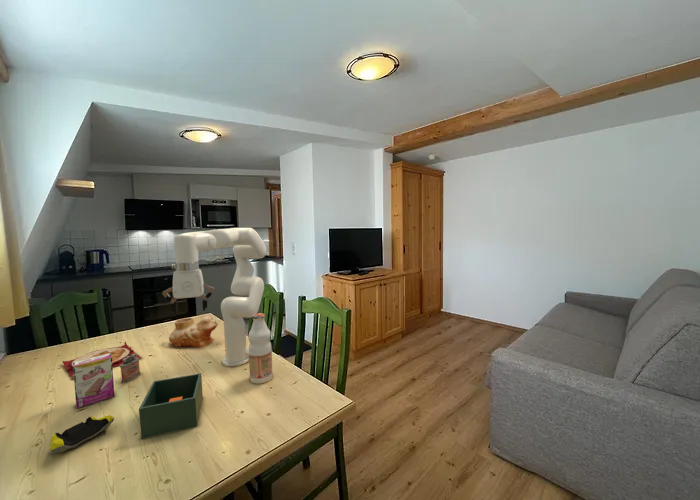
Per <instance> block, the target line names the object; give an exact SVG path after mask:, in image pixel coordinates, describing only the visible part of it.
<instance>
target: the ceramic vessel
mask: <svg viewBox="0 0 700 500" xmlns="http://www.w3.org/2000/svg"><path fill="white" fill-rule="evenodd" d="M218 325H219V323H218V322H217V320H215V319H213V317H212V316H211V315H207V316H204V317H203V318H201V319H200V320H199V321H198V322H196V323H195V322H194V318H193V317H184V318H180V319H179V318H178V319H176V320H174V327H175V328H174V329H173V330H172V331H171V332H170V334H169V336H168V341H169V342H170V343H171V344H172V346H174V348H180V349H181V348H199V349H201V348H205V347H206V346H208V345H210V344H211V343H212V341H213V337H212V336H211V335H212V332H214V331H215V330H216V328H217V327H218Z"/></svg>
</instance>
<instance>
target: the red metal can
mask: <svg viewBox="0 0 700 500" xmlns="http://www.w3.org/2000/svg"><path fill="white" fill-rule="evenodd" d="M137 355H138V353H137V352H135V353H134V354H132V355H131V356H126V358H124V359H123V363H122V364H121V365H119V367H120V376H121V380H120V383H121V384H124V383H128V382H130V381H132V380H134V379H136V378H137V377H139V376H140V375H141V371H140V359H139V358H138V357H136V356H137ZM134 357H136V358H134Z"/></svg>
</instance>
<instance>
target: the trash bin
mask: <svg viewBox="0 0 700 500" xmlns="http://www.w3.org/2000/svg"><path fill="white" fill-rule="evenodd" d="M202 379H203V378H202V372H200V373H199V372H198V373H193V374H188V375H187V374H186V375H183V376H177V377H170V378H165V379H158V380H153V382H152V383H151V385H150V387H149V389H148V390H147V393H146V395H145V397H144V398H143V401H142V403H141V404H140V406H139V408H138V414H139V427H140V428H139V429H140V439H141V440H142V439H148V438H151V437H157V436H159V435H160V436H161V435H165V434H170V433H173V432H178V431H183V430H187V429H191V428H196V427H198V424H199V418H200V415H201V414H200V413H201V408H202V403H203V399H204V397H203V395H204V394H203V380H202ZM182 396H183V399H182V400H177V401H171V402H169V400H170V399H171V398H176V397H182Z"/></svg>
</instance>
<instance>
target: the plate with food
mask: <svg viewBox="0 0 700 500" xmlns="http://www.w3.org/2000/svg"><path fill="white" fill-rule="evenodd" d="M109 353H110V354H111V356H112V367H113V368H114V367H120V365H121V364H122V363H123V359H124V358H126V356H131V355H132V354H134V353H136V352H135V351H134V349H132V346H129V345H128V344H127V342H126V341H124V343H123V344H122V345H121V346H115V347H114V346H113V347H107V348H101V349H98V350H97V349H96V350H93V351H90V352H88V353H87V352H86V353H84V354H82V355H79V356H78V357H76V358H74V359H70V360H62V361H61V362H62V364H63V366H64V368H65V369H66V372H67V374H68V375H69V376H70V377H71V378H73V379H74V372H73V362H75V361H79V360H83V359H88V358H92V357H96V356H100V355H105V354H109ZM136 357H138V358H139V360H141V359H143V358H142V357H141V356H140V355H138V354H137V356H136ZM136 357H134V358H136Z"/></svg>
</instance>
